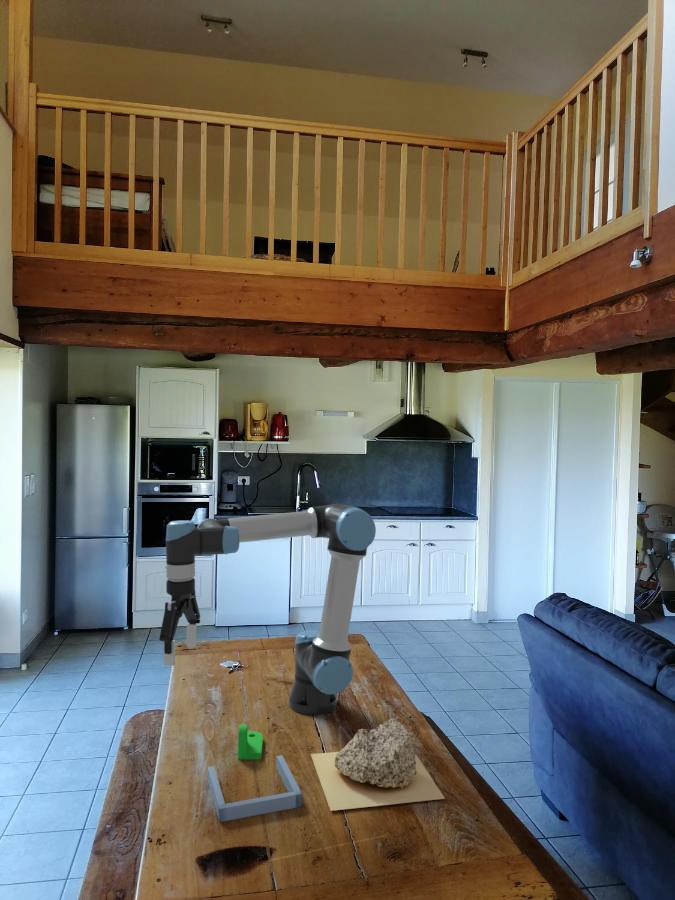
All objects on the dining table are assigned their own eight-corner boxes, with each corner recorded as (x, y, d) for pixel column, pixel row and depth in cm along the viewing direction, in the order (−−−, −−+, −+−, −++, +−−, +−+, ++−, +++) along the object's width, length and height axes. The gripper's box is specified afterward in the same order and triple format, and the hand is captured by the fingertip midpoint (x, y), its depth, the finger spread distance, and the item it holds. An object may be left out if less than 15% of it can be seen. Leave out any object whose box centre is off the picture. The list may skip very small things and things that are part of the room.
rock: (409, 743, 173) (423, 707, 165) (433, 825, 156) (449, 789, 147) (310, 751, 167) (318, 714, 158) (322, 837, 149) (333, 801, 141)
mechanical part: (261, 760, 166) (261, 730, 165) (238, 760, 165) (238, 730, 165) (263, 737, 178) (263, 709, 177) (241, 738, 177) (242, 710, 177)
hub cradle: (282, 766, 162) (282, 755, 162) (301, 806, 145) (302, 793, 145) (207, 779, 156) (207, 767, 156) (219, 822, 139) (219, 808, 139)
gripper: (187, 567, 183) (187, 639, 184) (145, 589, 159) (145, 672, 160) (211, 568, 182) (211, 641, 183) (172, 590, 157) (173, 674, 158)
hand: (181, 655), depth 171 cm, fingers open, 13 cm apart
